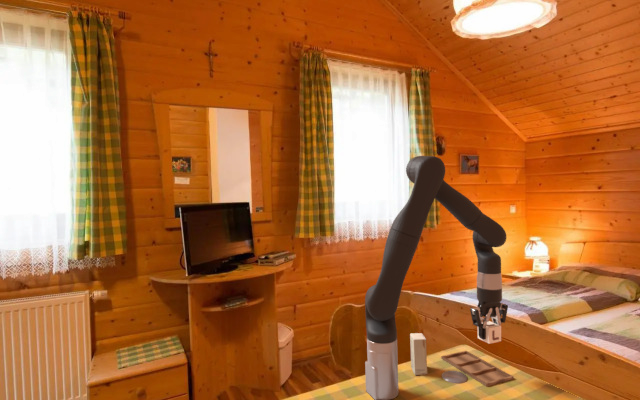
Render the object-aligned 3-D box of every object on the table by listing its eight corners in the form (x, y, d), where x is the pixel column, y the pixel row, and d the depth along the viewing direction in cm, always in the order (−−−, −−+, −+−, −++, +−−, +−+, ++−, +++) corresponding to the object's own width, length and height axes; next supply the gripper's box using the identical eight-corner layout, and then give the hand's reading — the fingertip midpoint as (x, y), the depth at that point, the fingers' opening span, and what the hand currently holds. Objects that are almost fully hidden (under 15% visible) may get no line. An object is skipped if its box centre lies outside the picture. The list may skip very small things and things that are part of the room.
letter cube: (489, 343, 125) (489, 328, 125) (477, 338, 130) (477, 322, 130) (501, 341, 127) (501, 325, 127) (489, 335, 132) (489, 320, 131)
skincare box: (427, 375, 132) (426, 339, 132) (414, 375, 132) (413, 340, 132) (423, 366, 139) (422, 332, 138) (410, 366, 139) (409, 332, 138)
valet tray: (486, 387, 123) (486, 383, 123) (441, 359, 144) (441, 356, 144) (513, 380, 127) (513, 376, 127) (465, 353, 148) (465, 350, 148)
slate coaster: (452, 386, 125) (452, 384, 125) (436, 375, 132) (436, 373, 132) (472, 381, 128) (472, 379, 127) (455, 370, 135) (455, 368, 135)
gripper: (480, 291, 122) (480, 345, 122) (515, 285, 127) (515, 337, 128) (463, 285, 129) (463, 336, 129) (497, 280, 134) (497, 330, 135)
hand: (489, 337), depth 128 cm, fingers closed on letter cube, 5 cm apart
